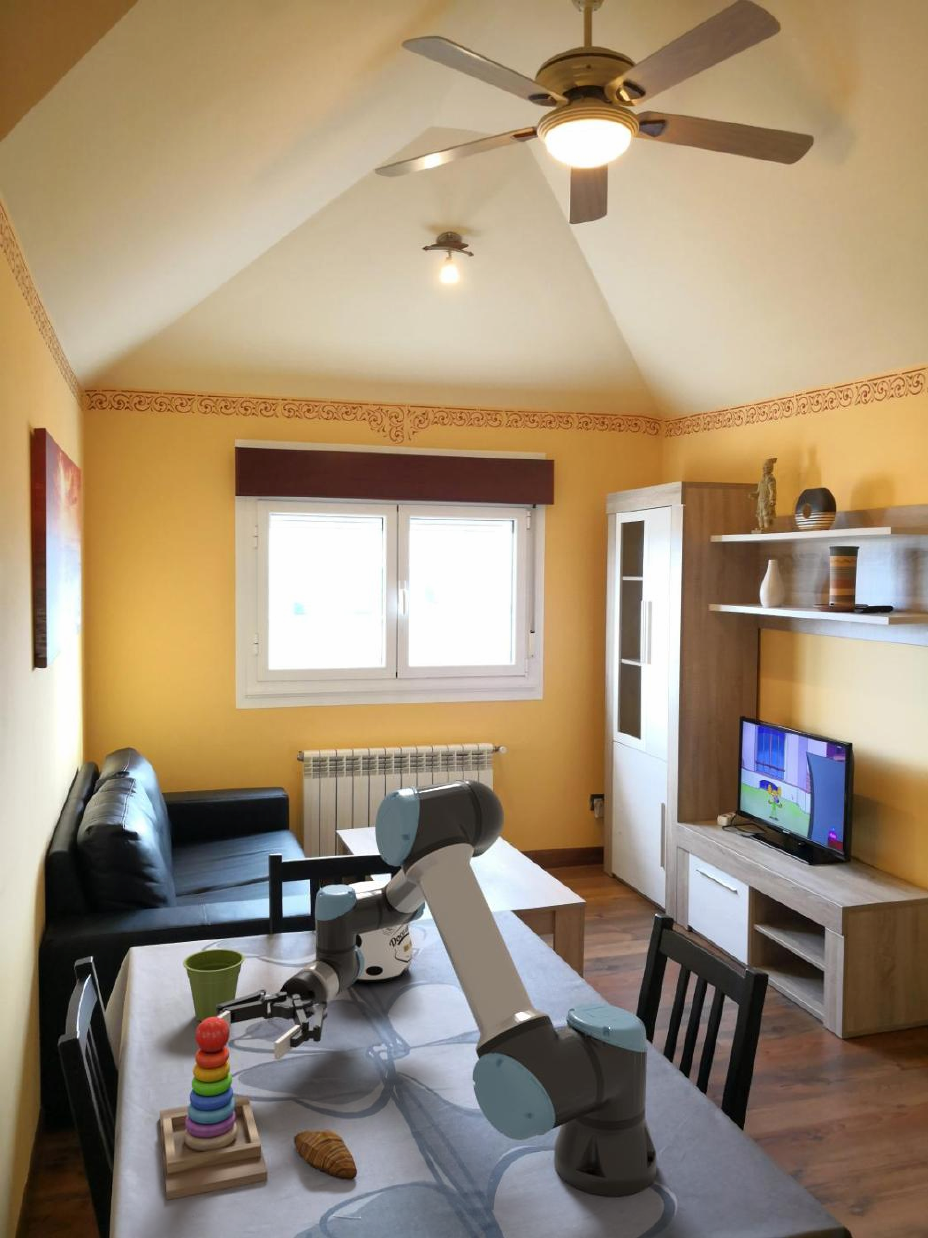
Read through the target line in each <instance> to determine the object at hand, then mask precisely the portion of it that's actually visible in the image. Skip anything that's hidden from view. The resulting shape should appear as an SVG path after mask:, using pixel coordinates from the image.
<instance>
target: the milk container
mask: <svg viewBox="0 0 928 1238" xmlns="http://www.w3.org/2000/svg"><path fill="white" fill-rule="evenodd" d="M389 882H390V881H383V880H382V881H381V880H380V881H376V880H375V881H374V880H372V881H360V882H359V881H358V882H355V883H350V884H348V885H347V886H350V887H352V888H353V889H354V890H355V893H361V892H366V891H370V890H375V889H379V888H383V887H385V886H386V885H387V884H388V883H389ZM409 928H410V927H409V923H407V924H402V925H396V926H392V927H388V928H383V929H379V930H375V931H371V932H367V933H363V934H359V935H356V946H357V947H358V948H359V949H360V950H361V953H362V955H363V957H364V960H365V966H364V970H363V972H362V974H361V975H360V976H359V977H358V978H357V979H356V981H357V982H362V983H364V982H365V983H369V982H370V983H378V982H385V981H386V982H387V981H390V980H392V979H396V978H398V977H399V976H401V975H403V974H404V973H406V972H407V971H408V970H409V968H410V966H411V964H412V960H413V952H414V951H413V943H412V937H411V935H410V931H409ZM356 981H355V982H356Z"/></svg>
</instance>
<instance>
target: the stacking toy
mask: <svg viewBox="0 0 928 1238" xmlns="http://www.w3.org/2000/svg"><path fill="white" fill-rule="evenodd" d="M230 1031H231V1030H230V1028H229V1026H228V1024H227V1023H226V1022H225V1021H224V1020H223V1019H221V1018H219V1017H210V1018H207V1019H205V1020H204V1021H201V1022H200V1023H199V1024H198V1026H197V1028H196V1031H195V1042H196V1044H197V1046H198V1047H199V1049H198V1050H197V1051H196V1053H195V1056H194V1060H195V1064H194V1066H193V1069H192V1074H193V1078H192V1081H191V1088H192V1089H191V1091H190V1094H189V1104H188V1105H187V1106H188V1115H187V1117H186V1120H185V1127H186V1130H185V1132H184V1141H185V1143H186V1144H187V1145H188V1146H189V1147H190V1148H192V1149H195V1150H198V1151H212V1150H217V1149H221V1148H223V1147H225V1146H227V1145H229V1144H230V1143H231V1142H232V1141H233V1140H234V1139H235V1137H236V1135H237V1131H238V1129H237V1125H236V1123H235V1119H236V1116H235V1112H234V1108H235V1102H234V1099H233V1098H234V1090H233V1087H232V1083H233V1077H232V1075H231V1073H230V1070H231V1064H230V1063H229V1061H228V1060H229V1058H230V1051H229V1049H228V1047H226V1045H227V1044H228V1042H229V1038H230V1036H231V1035H230V1033H231V1032H230Z"/></svg>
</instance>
